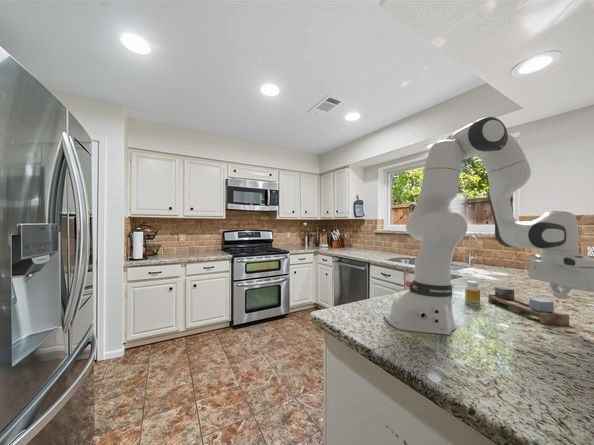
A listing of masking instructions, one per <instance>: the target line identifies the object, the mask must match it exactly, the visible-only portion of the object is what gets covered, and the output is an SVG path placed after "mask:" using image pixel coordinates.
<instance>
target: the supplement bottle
mask: <svg viewBox="0 0 594 445" xmlns="http://www.w3.org/2000/svg"><path fill="white" fill-rule="evenodd" d="M466 284H467V285H465V286H464V303H465V304H467V305H469V306H474V307H475V306H477V307H478V306H480V305H481V288H480V287H479V282H478V281H475V280H467V281H466Z"/></svg>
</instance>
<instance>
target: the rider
mask: <svg viewBox="0 0 594 445" xmlns="http://www.w3.org/2000/svg"><path fill="white" fill-rule="evenodd" d="M528 302H529V308H531V309H534V310H537V311H540V312H543V313H549V312H554V311H555V308H554V305H555V303H554V301H552V300H547V299H543V298H529V301H528Z"/></svg>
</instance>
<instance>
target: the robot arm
mask: <svg viewBox="0 0 594 445" xmlns="http://www.w3.org/2000/svg"><path fill="white" fill-rule="evenodd" d="M476 157H477V158H479V159H480V160H481V161H482V163H483V167H484V169H485V172H486V175H487V178H488V182H489V184H488V187H487V188H488V189H487V197H488V201H489V205H490V210H491V213H492V218H493V222H494V235H495V238H496V241H497V242H498V244H500V246H503V247H506V248H521V249H522V248H523V249H535V250H541V255H539V254H534V255H532V256H531V257H530V260H529V264H528V270H527V276H528V277H529V278H530V279H532V280H534V281H535V280H536V281H540V282H545V283H548V284H549V287H550V290H551V291H552V292H553V294H552V295H553V297H555V298H559V299H562V300H566V299H568V294H569V293H570V292H571V291H572V289H573V290H574V289H575V290H578V291H582V292H583V291H584V292H588V293H590V292H591V293H594V258H591V257H589V256H586V255H584V254H582V253H580V248H579V245H578V241H579V238H580V233H579V232H580V231H579V223H578V219H577V217H576V216H575V215H576V214H574V213H572V212H568V211H563V210H562V211H561V210H559V211H558V210H557V211H556V210H554V211H553V210H551V211H546V212H544V213H543V215H541V216H540V217H538V218H536V219H532V220H528V221H519V220H517V219H516V218H515V216H514V213H513V208H512V205H511V198H512V197H511V196H512V195H513V194H514V193H515V192H516V191H518V190H519V189H521V188H522V187H524V185H525V184H526V183H527V182H528V181H529V180H530V177H531V173H532V172H531V170H532V169H531V166H530V163H529V161H528V159H527V157H526V153H525V152H524V151H523V148H522V147H521V146H520V143H519V142H518V141H517V139H516V138H515V137H514V136H513V135H511V134H508V130H507V127H506V126H505V124H504V123H503V121H501V120H500V119H499V118H498V117H494V116H486V117H483V118H480V119H477V120H476V121H474V122H473V123H470V124H468V125H466V126H464V127H463V126H462V128H460V129H458V130H457V131H455V132H454V133H452V134H451V135H449V136H448V137H447V138H446V139H443V140H439V141H436V142H435V143H434V144H433V145H432V146H431V147H430V149H429V152H428V154H427V157H426V160H425V164H424V165H425V166H424V168H423V174H422V180H421V186H420V192H419V195H418V198H417V200H416V202H415V203H416V204H415V206H414V208H413V211H412V213H411V215H410V217H409V218H408V219H407V221H406V225H405V229H406V232H407V233H408V235H409V236H410V237H412V238H413V239H415V240H416V241H417V240H418V241H420V242H421V246H420V248H419V249H420V250H419V251H418V254H417V255H416V256H415V258H414V279H413V280H412V281H411V280H410V281H409V280H407V279H406V280H404V281H403V283H404V286H406V287H408V288H409V289H408V290H407V291H406V292H404V293H403V294H402V295H400V296H398V297H396V299H395V298H394V300H393V302H392V304H391V308H390V309H391V310H390V311H386V312H385V313H384V319H385V321H386V322H387V323H389V324H390V326H392V327H394V328H396V329H397V330H400V331H407V332H408V331H409V332H416V333H417V332H419V333H427V334H429V333H430V334H440V335H451V334H452V331H454V330H456V328H457V326H456V325H457V324H456V322H455V319H454V315H453V314H454V313H453V306H452V298H453V284H452V280H451V279H452V277H451V276H452V262H453V261H452V260H453V257H454V254H455V250H456V248H457V246H458V243H459V242H460V241H461V240H462V239H464V237H465V236H466V234H467V232H468V223H467V220H466V219H465V217H464V216H462V214H460V213H458V212H455V211H452V210H447V209H448V207H449V206H450V204H451V203H452V202H453V200H454V199H455V198H456V196H457V195H458V188H459V184H460V183H459V182H460V176H461V169H462V162H463V161H465V160H468V159H471V158H476ZM559 288H560V289H562V290H560V289H559Z"/></svg>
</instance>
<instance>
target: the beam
mask: <svg viewBox="0 0 594 445" xmlns="http://www.w3.org/2000/svg"><path fill="white" fill-rule="evenodd" d="M487 300H488V303H490V304H494V303H495V304H504V305H506V306H507V307H508V308H507V310H509V311H511V312H514V313H517V314H519V315H532V316H533V315H534V316H536V317H539V323H540V324H542V325H561V326H562V325H564V326H565V325H569V326H570V314H569V313H562V312H558V311H555V310H554V312H549V313H543V312H540V311H537V310H534V309H531V308H529V301H525V300H522V299H521V298H520V299H519V298H516V297H515V289H513V288H510V287H505V286H503V287H502V286H496V287H494V293H492V294H491V293H489V294H488V299H487Z"/></svg>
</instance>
